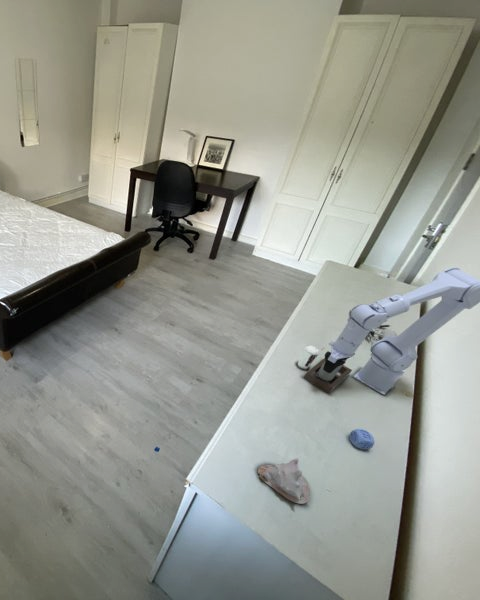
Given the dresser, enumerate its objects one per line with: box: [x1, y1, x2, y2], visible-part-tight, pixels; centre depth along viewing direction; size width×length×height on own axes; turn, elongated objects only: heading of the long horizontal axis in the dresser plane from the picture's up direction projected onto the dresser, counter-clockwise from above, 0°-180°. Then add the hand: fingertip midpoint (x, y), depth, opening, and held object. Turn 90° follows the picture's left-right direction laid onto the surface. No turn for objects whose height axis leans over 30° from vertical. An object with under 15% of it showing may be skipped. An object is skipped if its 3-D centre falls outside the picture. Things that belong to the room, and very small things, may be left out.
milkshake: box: [297, 345, 325, 370], centre depth 117 cm, size 4×5×10 cm
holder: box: [303, 357, 353, 395], centre depth 115 cm, size 8×16×3 cm, turn 124°
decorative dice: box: [349, 428, 375, 450], centre depth 94 cm, size 4×4×4 cm
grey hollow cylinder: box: [317, 358, 348, 382], centre depth 110 cm, size 4×4×10 cm
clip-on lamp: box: [367, 324, 398, 342], centre depth 135 cm, size 12×6×18 cm
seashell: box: [257, 457, 310, 505], centre depth 81 cm, size 10×12×9 cm
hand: (330, 368), depth 111 cm, fingers closed on grey hollow cylinder, 4 cm apart
